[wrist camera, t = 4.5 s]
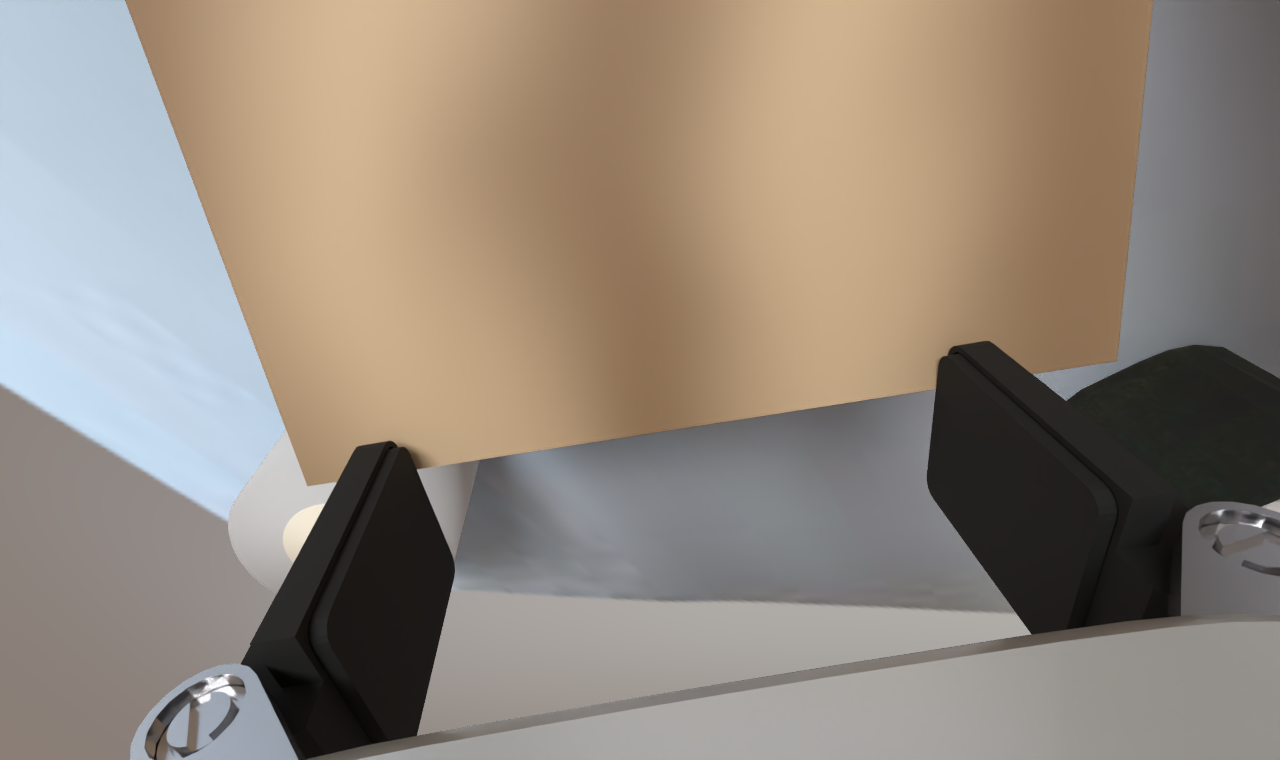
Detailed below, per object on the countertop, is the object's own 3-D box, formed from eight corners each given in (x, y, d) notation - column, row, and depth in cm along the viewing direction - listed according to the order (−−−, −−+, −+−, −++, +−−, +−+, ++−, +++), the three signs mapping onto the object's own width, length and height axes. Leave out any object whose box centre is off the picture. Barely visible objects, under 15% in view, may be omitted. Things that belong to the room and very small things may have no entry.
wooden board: (1176, -639, 7) (1223, -707, 7) (1091, 350, 11) (1116, 360, 11) (3, -412, 8) (-46, -457, 7) (322, 470, 12) (307, 486, 11)
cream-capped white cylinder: (458, 335, 21) (413, 446, 16) (504, 472, 24) (480, 602, 19) (283, 363, 21) (182, 483, 16) (352, 496, 24) (286, 631, 19)
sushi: (1261, 451, 26) (1497, 614, 19) (1059, 538, 28) (1207, 713, 21) (1242, 304, 22) (1528, 441, 15) (1010, 417, 24) (1172, 582, 17)
